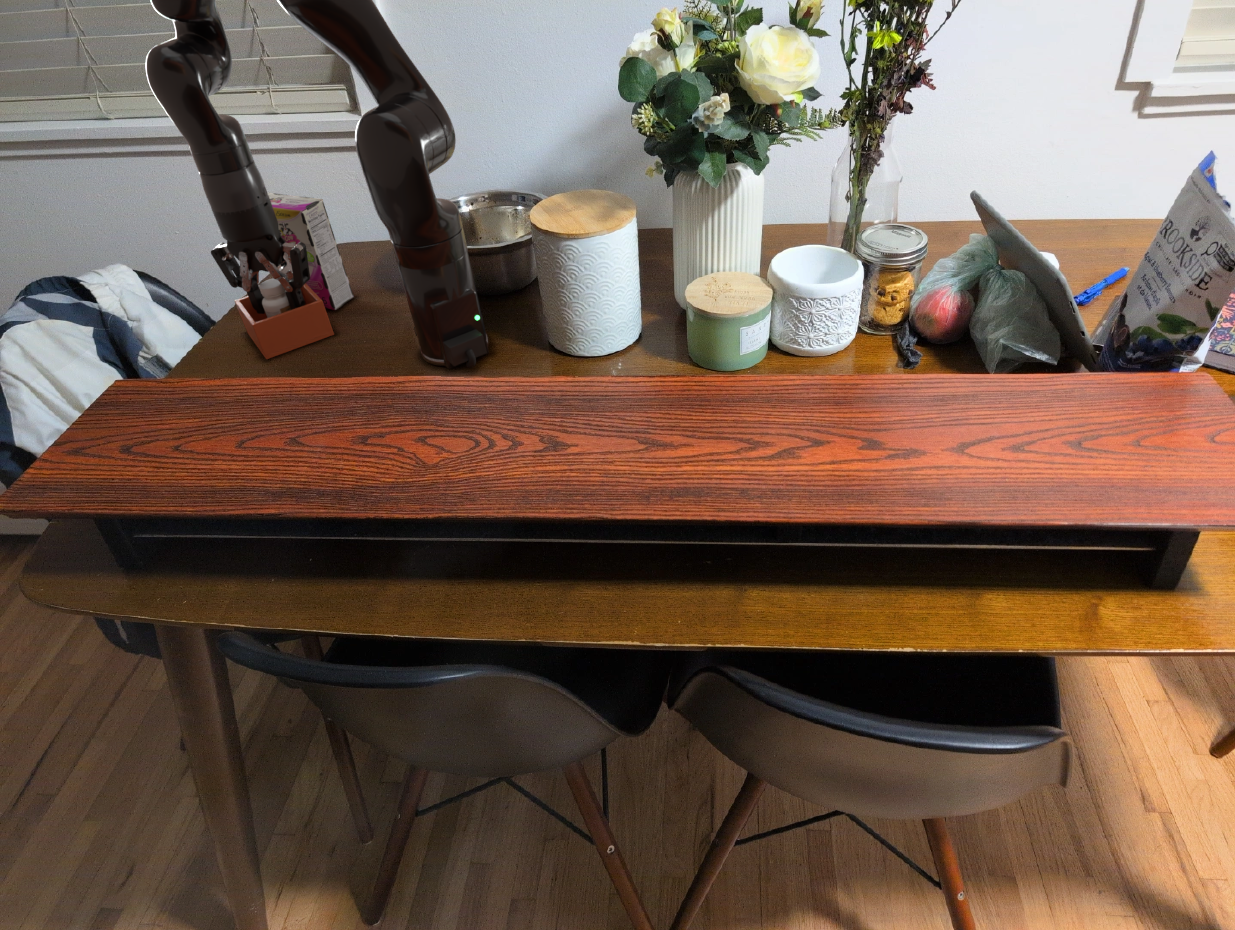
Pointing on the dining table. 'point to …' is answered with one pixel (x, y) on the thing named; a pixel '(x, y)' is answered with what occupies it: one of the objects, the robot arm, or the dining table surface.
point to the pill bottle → (274, 297)
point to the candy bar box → (314, 245)
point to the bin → (286, 325)
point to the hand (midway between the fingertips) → (281, 311)
